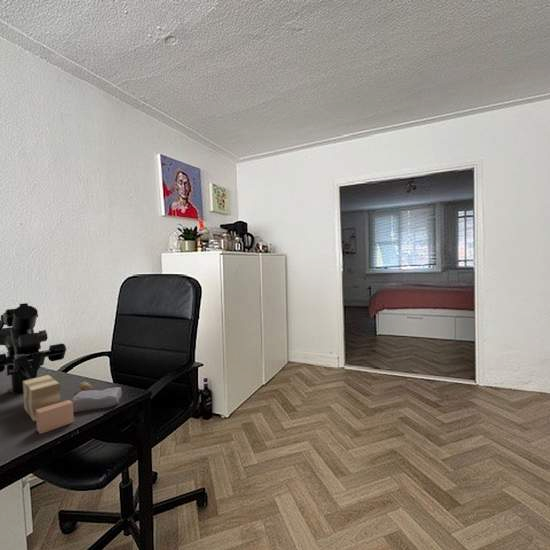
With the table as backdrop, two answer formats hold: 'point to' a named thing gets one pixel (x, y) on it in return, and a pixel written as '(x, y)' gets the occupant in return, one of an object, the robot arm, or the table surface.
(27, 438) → the table surface
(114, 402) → the stone block
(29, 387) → the notched wooden block
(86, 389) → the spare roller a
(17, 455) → the table surface
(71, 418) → the block
